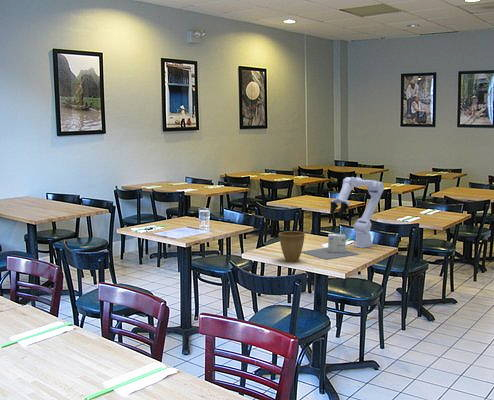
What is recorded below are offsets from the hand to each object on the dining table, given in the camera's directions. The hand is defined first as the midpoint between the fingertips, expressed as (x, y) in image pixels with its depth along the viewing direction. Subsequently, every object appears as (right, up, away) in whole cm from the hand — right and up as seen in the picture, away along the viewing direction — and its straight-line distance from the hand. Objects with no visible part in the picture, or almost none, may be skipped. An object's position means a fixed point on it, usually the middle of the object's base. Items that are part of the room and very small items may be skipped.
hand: (335, 214), depth 353 cm
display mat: (-4, -24, -2) cm, 24 cm away
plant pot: (-29, -27, -21) cm, 44 cm away
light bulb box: (+1, -23, +2) cm, 23 cm away
